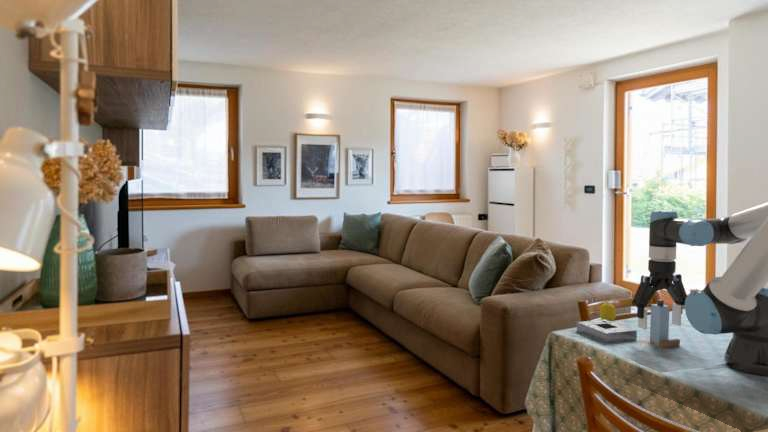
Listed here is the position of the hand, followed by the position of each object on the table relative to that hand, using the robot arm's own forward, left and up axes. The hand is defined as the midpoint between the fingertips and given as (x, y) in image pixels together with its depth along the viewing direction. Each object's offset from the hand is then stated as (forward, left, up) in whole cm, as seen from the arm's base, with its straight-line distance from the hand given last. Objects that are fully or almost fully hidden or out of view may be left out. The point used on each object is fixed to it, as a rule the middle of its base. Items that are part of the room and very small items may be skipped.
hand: (659, 326), depth 162 cm
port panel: (+12, +10, -6) cm, 17 cm away
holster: (0, 0, -6) cm, 6 cm away
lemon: (+26, -3, -6) cm, 27 cm away
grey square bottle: (0, 0, -5) cm, 5 cm away
